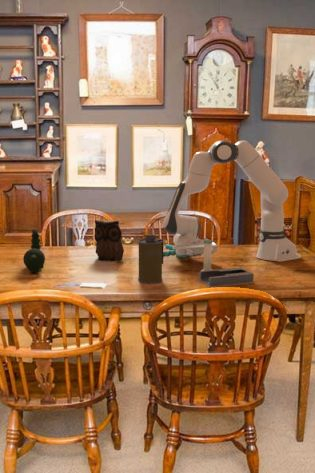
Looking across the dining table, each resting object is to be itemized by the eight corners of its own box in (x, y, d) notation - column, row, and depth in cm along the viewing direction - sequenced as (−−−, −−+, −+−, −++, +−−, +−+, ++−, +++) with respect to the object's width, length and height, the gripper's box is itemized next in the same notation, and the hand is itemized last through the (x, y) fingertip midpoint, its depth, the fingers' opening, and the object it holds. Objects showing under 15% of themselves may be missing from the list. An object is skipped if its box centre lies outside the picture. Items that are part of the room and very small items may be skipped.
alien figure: (159, 256, 260) (197, 258, 256) (159, 252, 260) (198, 254, 256) (166, 248, 280) (202, 250, 276) (166, 244, 279) (202, 245, 275)
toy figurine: (26, 267, 245) (22, 277, 221) (25, 228, 243) (20, 233, 219) (46, 266, 247) (44, 276, 222) (45, 227, 245) (43, 233, 220)
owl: (124, 261, 250) (124, 221, 246) (100, 263, 245) (99, 222, 241) (116, 255, 262) (116, 216, 257) (92, 257, 257) (92, 218, 253)
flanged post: (210, 270, 234) (211, 239, 231) (215, 273, 229) (216, 241, 226) (199, 271, 233) (199, 239, 229) (204, 274, 227) (204, 242, 224)
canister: (143, 284, 212) (143, 238, 208) (134, 278, 222) (134, 233, 218) (167, 281, 217) (167, 235, 212) (157, 275, 226) (157, 231, 222)
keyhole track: (240, 275, 226) (240, 266, 226) (253, 283, 215) (254, 274, 214) (198, 279, 220) (199, 270, 219) (210, 287, 209) (210, 278, 208)
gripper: (171, 241, 243) (181, 247, 230) (210, 238, 250) (222, 244, 237) (171, 254, 244) (181, 261, 232) (209, 251, 251) (222, 257, 238)
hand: (202, 252), depth 234 cm, fingers open, 8 cm apart
